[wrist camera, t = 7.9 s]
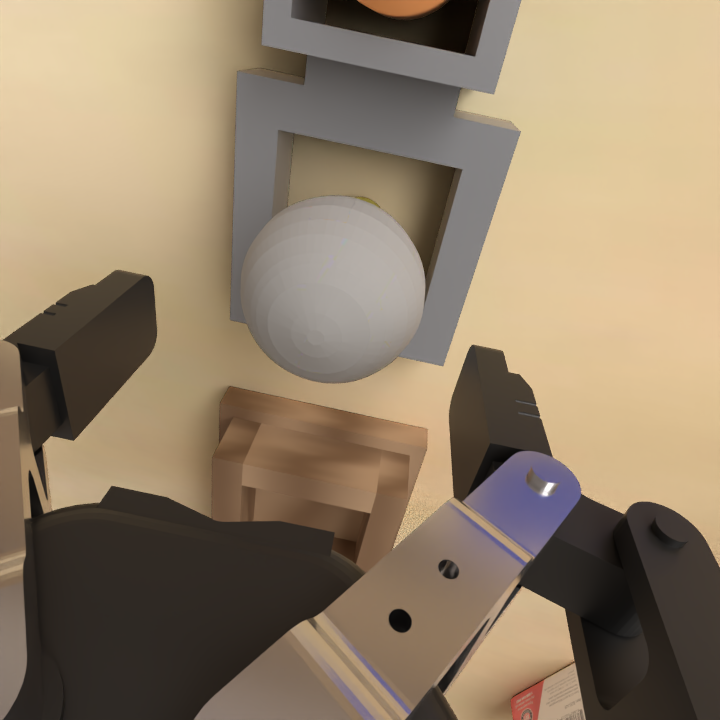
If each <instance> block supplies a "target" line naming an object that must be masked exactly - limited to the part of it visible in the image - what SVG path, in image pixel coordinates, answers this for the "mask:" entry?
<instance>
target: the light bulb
mask: <svg viewBox="0 0 720 720" xmlns="http://www.w3.org/2000/svg"><path fill="white" fill-rule="evenodd" d="M240 293H241V304H242V310H243V313H244V317H245V319H246V322H247V325H248V328H249V330H250V332H251V334H252V336H253V338H254V339H255V341H256V343H257V344H258V345H259V347H260V348H261V349H262V350H263V352H264V353H265V354H266V355H267V356H268V357H269V358H270V359H271V360H273V361H274V362H275V363H276V364H278V365H279V366H280V367H282V368H283V369H285V370H287V371H288V372H290V373H292V374H294V375H297V376H299V377H302V378H305V379H308V380H311V381H316V382H322V383H346V382H352V381H356V380H359V379H362V378H365V377H368V376H370V375H372V374H374V373H376V372H377V371H379V370H381V369H383V368H384V367H386V366H387V365H388V364H390V363H391V362H392V361H393V360H394V359H396V358H397V357H398V355H399V354H400V353H401V352H402V351H403V350H404V348H405V347H406V346H407V345H408V344H409V342H410V341H411V340H412V338H413V337H414V335H415V333H416V331H417V329H418V326H419V324H420V321H421V318H422V314H423V308H424V299H425V275H424V269H423V265H422V262H421V259H420V256H419V254H418V252H417V250H416V248H415V246H414V244H413V242H412V241H411V239H410V238H409V236H408V235H407V233H406V232H405V230H404V229H403V228H402V227H401V225H400V224H399V223H398V222H397V221H396V220H395V219H394V218H392V217H391V216H390V215H389V214H388V213H386V212H385V211H383V210H382V209H381V208H380V207H379V206H378V205H377V204H376V203H375V202H374V201H372V200H370V199H368V198H364V197H356V198H353V197H348V196H335V195H331V196H321V197H316V198H311V199H307V200H303V201H300V202H297V203H295V204H293V205H290V206H289V207H287V208H285V209H283V210H282V211H281V212H279V213H278V214H276V215H275V216H274V217H273V218H272V219H271V220H270V221H269V222H268V223H267V224H266V225H265V226H264V228H263V229H262V230H261V231H260V233H259V234H258V235H257V237H256V238H255V239H254V241H253V242H252V244H251V246H250V247H249V249H248V251H247V254H246V256H245V259H244V263H243V266H242V273H241V291H240Z"/></svg>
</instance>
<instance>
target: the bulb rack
mask: <svg viewBox="0 0 720 720" xmlns="http://www.w3.org/2000/svg"><path fill="white" fill-rule="evenodd" d="M427 432H428V429H424V428H419V427H415V426H410V425H405V424H401V423H396V422H392V421H387V420H382V419H378V418H373V417H369V416H364V415H359V414H355V413H350V412H346V411H341V410H336V409H332V408H327V407H323V406H318V405H313V404H309V403H304V402H300V401H295V400H290V399H286V398H281V397H277V396H272V395H267V394H263V393H258V392H254V391H249V390H245V389H240V388H235V387H231V386H230V387H229V389H228V390H227V392H226V394H225V395H224V397H223V399H222V400H221V402H220V425H219V445H218V447H217V449H216V451H215V453H214V455H213V457H212V519H213V520H216V521H220V522H242V521H283V522H288V523H292V524H297V525H302V526H307V527H311V528H316V529H321V530H326V531H331V532H335V534H334V540H333V545H332V550H333V551H335V552H337V553H339V554H341V555H343V556H345V557H346V558H348V559H349V560H351V561H353V562H354V563H355V564H356V565H358V566H359V567H360V568H361V569H362V570H364V571H365V572H366V573H367V572H368V571H369V570H370V569H371V568H372V567H374V566H375V565H376V564H377V563H378V562H379V561H380V560H381V559H383V558H384V557H385V556H386V555H387V554H388V553H389V552H390V551H392V548H393V545H394V542H395V540H396V537H397V534H398V531H399V528H400V525H401V522H402V520H403V517H404V514H405V511H406V508H407V505H408V502H409V499H410V497H411V494H412V491H413V488H414V485H415V482H416V479H417V477H418V474H419V471H420V468H421V465H422V462H423V459H424V456H425V454H426V451H427Z"/></svg>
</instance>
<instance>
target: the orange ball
mask: <svg viewBox="0 0 720 720" xmlns="http://www.w3.org/2000/svg"><path fill="white" fill-rule="evenodd" d="M357 1H359V2H360V3H362V4H363V5H365V6H367V7H368V8H370V9H372V10H374V11H375V12H377V13H379V14H381V15H383V16H385V17H388V18H392V19H397V20H413V19H419V18H422V17H425V16H428V15H430V14H432V13H433V12H435V11H437V10H438V9H440V8H441V7H443V6H444V5H445V4H446V3H447V2H448V1H449V0H357Z"/></svg>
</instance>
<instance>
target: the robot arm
mask: <svg viewBox="0 0 720 720" xmlns="http://www.w3.org/2000/svg"><path fill="white" fill-rule="evenodd" d="M156 337H157V324H156V310H155V296H154V285H153V281H152V279H151V278H150V277H149V276H146V275H141V274H136V273H131V272H127V271H122V270H116V271H114V272H112V273H111V274H110V275H108V276H107V277H106V278H104V279H103V280H102V281H100V282H99V283H97V284H96V285H90V286H87V287H84V288H81V289H78V290H75V291H72V292H70V293H69V294H67V295H66V296H64V297H63V298H62V299H60V300H59V301H57V302H56V305H52V306H50V307H49V308H47V309H46V310H45V311H44V313H43V314H42V313H40V314H39V315H37V316H36V317H35V318H33V319H32V320H30V321H29V322H28V323H26V324H25V325H23V326H22V327H20V328H19V329H18V330H16V331H15V332H13V333H12V334H10V335H9V336H8V337H6V338H5V339H3V340H0V720H458V719H457V717H456V715H455V714H454V712H453V710H452V709H451V707H450V705H449V704H448V702H447V700H446V698H445V697H444V695H445V694H446V692H447V691H448V690H449V688H450V687H451V686H452V684H453V683H454V681H455V680H456V679H457V677H458V676H459V674H460V673H461V672H462V670H463V669H464V667H465V666H466V664H467V663H468V661H469V660H470V658H471V657H472V656H473V654H474V653H475V651H476V650H477V648H478V647H479V646H480V644H481V643H482V642H483V640H484V639H485V638H486V636H487V635H488V634H489V632H490V631H491V630H492V628H493V627H494V626H495V624H496V623H497V621H498V620H499V619H500V617H501V616H502V615H503V613H504V612H505V611H506V609H507V608H508V607H509V605H510V604H511V603H512V601H513V600H514V599H515V597H516V596H517V595H518V593H519V592H520V591H521V589H522V588H523V587H525V588H527V589H529V590H531V591H533V592H535V593H536V594H538V595H540V596H542V597H544V598H546V599H548V600H550V601H552V602H554V603H556V604H557V605H559V606H561V607H563V608H565V611H566V617H567V622H568V627H569V633H570V638H571V643H572V649H573V654H574V659H575V665H576V670H577V676H578V681H579V686H580V692H581V697H582V702H583V708H584V713H585V719H586V720H720V568H719V566H718V564H717V562H716V560H715V558H714V556H713V554H712V552H711V550H710V548H709V546H708V544H707V542H706V540H705V538H704V537H703V536H702V534H701V533H700V532H699V531H698V530H697V529H696V528H695V526H693V525H692V524H691V523H690V522H689V521H688V520H687V519H685V518H684V517H683V516H681V515H680V514H678V513H676V512H675V511H673V510H671V509H669V508H667V507H665V506H662V505H659V504H656V503H652V502H637V503H634V504H633V505H631V506H630V507H629V509H628V510H627V511H626V513H625V514H622V513H620V512H618V511H615V510H613V509H611V508H609V507H607V506H604V505H602V504H600V503H598V502H595V501H593V500H591V499H589V498H587V497H586V496H584V495H582V494H581V488H580V484H579V482H578V480H577V478H576V477H575V476H574V474H573V473H572V472H571V471H570V470H569V469H568V468H567V467H566V466H565V465H564V464H562V463H561V462H559V461H558V460H556V459H554V458H553V456H552V453H551V450H550V447H549V443H548V440H547V437H546V434H545V430H544V427H543V424H542V420H541V419H540V414H539V411H538V407H537V406H536V401H535V398H534V394H533V391H532V389H531V387H530V386H529V385H528V384H527V383H526V382H525V380H524V379H523V378H522V377H521V376H520V375H519V374H514V373H509V372H508V368H507V364H506V360H505V356H504V353H503V351H501V350H496V349H491V348H487V347H482V346H477V345H472V346H471V347H470V349H469V351H468V353H467V356H466V359H465V362H464V364H463V367H462V370H461V373H460V376H459V378H458V381H457V384H456V387H455V390H454V392H453V396H452V399H451V404H450V410H449V426H450V443H451V459H452V475H453V492H454V497H453V498H451V499H449V500H448V501H447V502H446V503H444V504H443V505H442V506H441V507H440V508H439V509H438V510H437V511H435V512H434V513H433V514H432V515H431V516H430V517H429V518H428V519H426V520H425V521H424V522H423V523H422V524H421V525H420V526H419V527H417V528H416V529H415V530H414V531H413V532H412V533H411V534H410V535H408V536H407V537H406V538H405V539H404V540H403V541H402V542H401V543H399V544H398V545H397V546H396V547H395V548H394V549H393V550H392V551H390V552H389V553H388V554H387V555H386V556H385V557H384V558H383V559H381V560H380V561H379V562H378V563H377V564H376V565H375V566H374V567H372V568H371V569H370V570H369V571H368V572H367V573H366V572H365V571H364V570H362V569H361V568H360V567H359V566H358V565H356V564H355V563H354V562H353V561H351V560H349V559H348V558H346V557H345V556H343V555H341V554H339V553H337V552H335V551H333V550H332V545H333V540H334V534H335V532H331V531H326V530H321V529H316V528H311V527H307V526H302V525H297V524H292V523H288V522H283V521H242V522H220V521H216V520H213V519H211V518H209V517H207V516H205V515H203V514H200V513H198V512H196V511H194V510H192V509H190V508H188V507H186V506H184V505H182V504H180V503H178V502H175V501H173V500H171V499H169V498H167V497H163V496H158V495H153V494H148V493H144V492H139V491H134V490H129V489H124V488H120V487H115V486H111V488H110V489H109V491H108V492H107V494H106V495H105V496H104V498H103V499H102V501H101V502H100V503H91V504H82V505H75V506H70V507H65V508H61V509H58V510H54V511H52V505H51V496H50V487H49V478H48V469H47V460H46V452H45V449H44V445H43V443H44V442H45V441H46V440H47V439H48V438H49V437H50V436H54V437H59V438H63V439H68V440H73V441H74V440H75V439H76V438H77V437H78V436H79V434H80V433H81V432H82V431H83V430H84V429H85V428H86V426H87V425H88V424H89V423H90V422H91V421H92V420H93V419H94V417H95V416H96V415H97V414H98V413H99V412H100V411H101V409H102V408H103V407H104V406H105V405H106V404H107V403H108V402H109V400H110V399H111V398H112V397H113V396H114V395H115V394H116V393H117V391H118V390H119V389H120V388H121V387H122V386H123V385H124V383H125V382H126V381H127V380H128V379H129V378H130V377H131V376H132V374H133V373H134V372H135V371H136V370H137V369H138V368H139V366H140V365H141V364H142V363H143V362H144V361H145V360H146V359H147V357H148V356H149V355H150V354H151V352H152V350H153V348H154V346H155V342H156Z"/></svg>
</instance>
